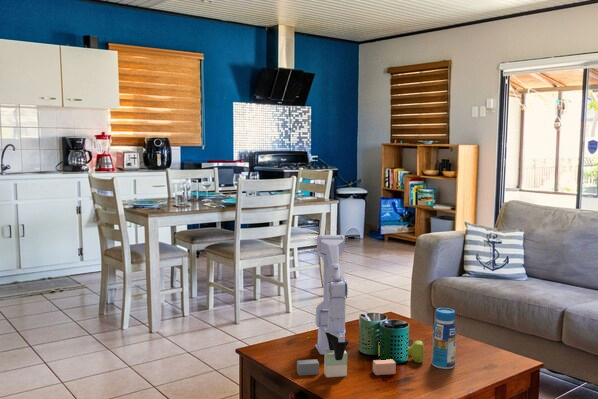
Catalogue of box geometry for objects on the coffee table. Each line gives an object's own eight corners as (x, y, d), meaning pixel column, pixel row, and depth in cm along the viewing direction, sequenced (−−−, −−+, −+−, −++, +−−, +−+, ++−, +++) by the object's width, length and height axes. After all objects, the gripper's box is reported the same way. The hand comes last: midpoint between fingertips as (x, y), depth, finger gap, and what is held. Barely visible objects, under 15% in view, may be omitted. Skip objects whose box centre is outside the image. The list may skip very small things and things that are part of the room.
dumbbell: (377, 361, 212) (377, 342, 212) (378, 353, 220) (379, 335, 219) (423, 365, 209) (424, 346, 209) (423, 357, 217) (424, 338, 216)
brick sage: (324, 362, 201) (324, 350, 200) (344, 360, 202) (344, 349, 202) (326, 366, 197) (326, 354, 197) (347, 364, 199) (347, 353, 198)
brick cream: (324, 373, 201) (324, 362, 201) (343, 372, 203) (344, 360, 202) (326, 377, 198) (326, 366, 197) (346, 376, 199) (346, 364, 199)
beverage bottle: (428, 360, 214) (430, 306, 212) (450, 360, 214) (453, 306, 212) (435, 369, 205) (437, 314, 203) (458, 369, 206) (461, 313, 204)
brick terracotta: (372, 371, 204) (373, 360, 203) (392, 370, 205) (392, 359, 205) (375, 375, 200) (376, 364, 200) (395, 374, 202) (395, 362, 201)
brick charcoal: (296, 371, 203) (296, 360, 202) (316, 370, 204) (316, 359, 203) (298, 375, 199) (298, 364, 199) (319, 374, 200) (319, 363, 200)
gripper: (320, 310, 204) (319, 348, 206) (330, 323, 190) (329, 364, 192) (339, 309, 206) (339, 347, 207) (351, 322, 192) (350, 363, 193)
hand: (335, 355), depth 200 cm, fingers open, 7 cm apart
